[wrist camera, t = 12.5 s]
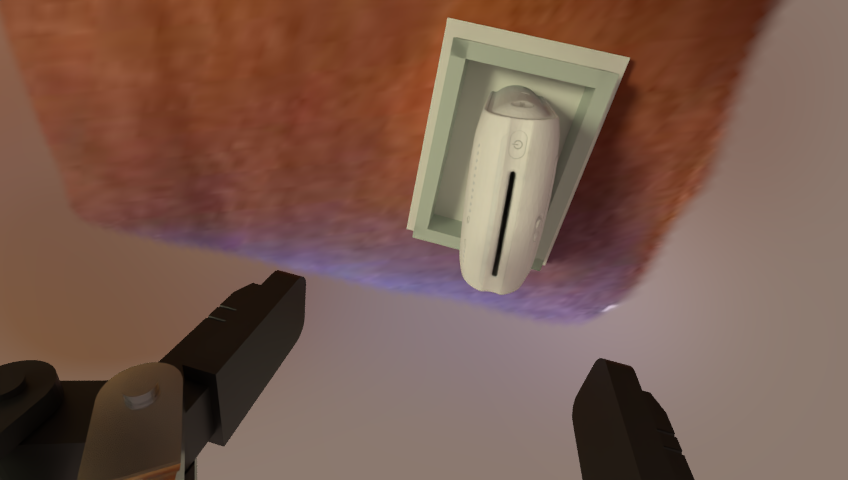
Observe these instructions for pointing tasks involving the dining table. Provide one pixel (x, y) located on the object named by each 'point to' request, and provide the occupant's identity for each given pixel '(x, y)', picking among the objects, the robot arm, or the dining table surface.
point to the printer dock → (463, 104)
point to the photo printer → (508, 189)
